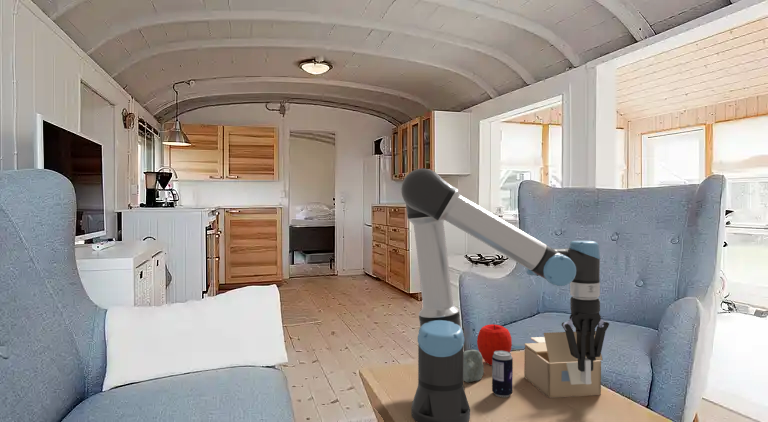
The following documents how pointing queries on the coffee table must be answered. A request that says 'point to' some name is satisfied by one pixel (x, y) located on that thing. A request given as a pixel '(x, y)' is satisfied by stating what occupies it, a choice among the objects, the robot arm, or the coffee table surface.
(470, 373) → the decorative stone
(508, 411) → the coffee table surface
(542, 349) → the far flap
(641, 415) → the coffee table surface
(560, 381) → the carton
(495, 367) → the beverage can
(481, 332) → the apple
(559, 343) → the near flap
